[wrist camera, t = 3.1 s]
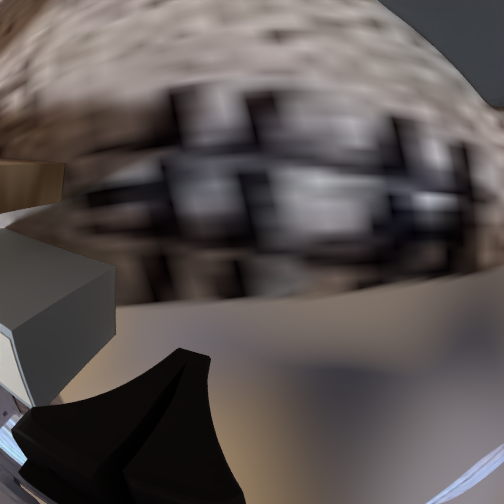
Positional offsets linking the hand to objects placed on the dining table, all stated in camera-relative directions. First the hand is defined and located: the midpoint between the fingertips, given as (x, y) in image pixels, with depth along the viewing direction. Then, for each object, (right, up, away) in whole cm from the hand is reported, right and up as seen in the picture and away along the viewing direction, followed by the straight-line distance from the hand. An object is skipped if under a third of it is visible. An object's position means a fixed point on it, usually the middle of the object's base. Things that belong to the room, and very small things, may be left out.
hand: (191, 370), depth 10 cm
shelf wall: (-16, +10, +1) cm, 19 cm away
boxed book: (-9, +3, +3) cm, 10 cm away
